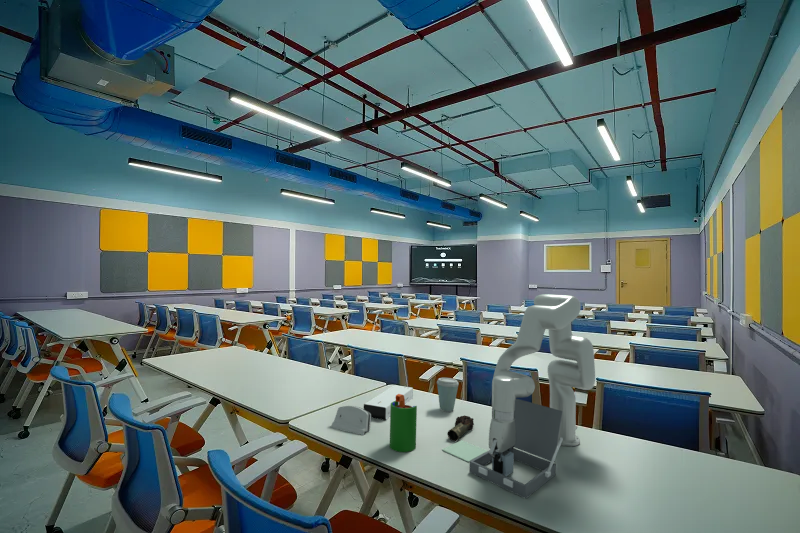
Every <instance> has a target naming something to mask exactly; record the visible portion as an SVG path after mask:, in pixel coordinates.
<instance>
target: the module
mask: <svg viewBox="0 0 800 533" xmlns="http://www.w3.org/2000/svg"><path fill="white" fill-rule="evenodd" d="M498 450H499V449H498ZM496 454H498V456H499V453H498V452H497V453H496ZM502 461H503V473H502V475H505V476H507V477H508V476H509V475H510V474H512V473H513V472H514V453H512V452H509V451H507V450H506V451H504V452H503V455H502ZM491 463H492V464H491V465H492V467H491V470H493V465H494V459H493V457H492V461H491ZM493 471H494V470H493Z"/></svg>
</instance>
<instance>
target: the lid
mask: <svg viewBox="0 0 800 533" xmlns="http://www.w3.org/2000/svg"><path fill="white" fill-rule="evenodd" d="M562 414H563V411H560V410H556V409H553V408H550V406H549V407H548V406H545V405H540V404H538V403H534V402H530V401H526V400H524V399H521V398H515V430H516V442H515V445H514V448H515V449H517V450H520V451H523V452H525V453H528V454H531V455H533V456H536V457H538V458H541V459H544V460H546V461H549V462H551V460H552V458H553V455H554V453H555V450H556V448H557V445H558V439H559V433H560V427H561V420H562ZM555 462H556V459H555V460H554V464H556V463H555Z"/></svg>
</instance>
